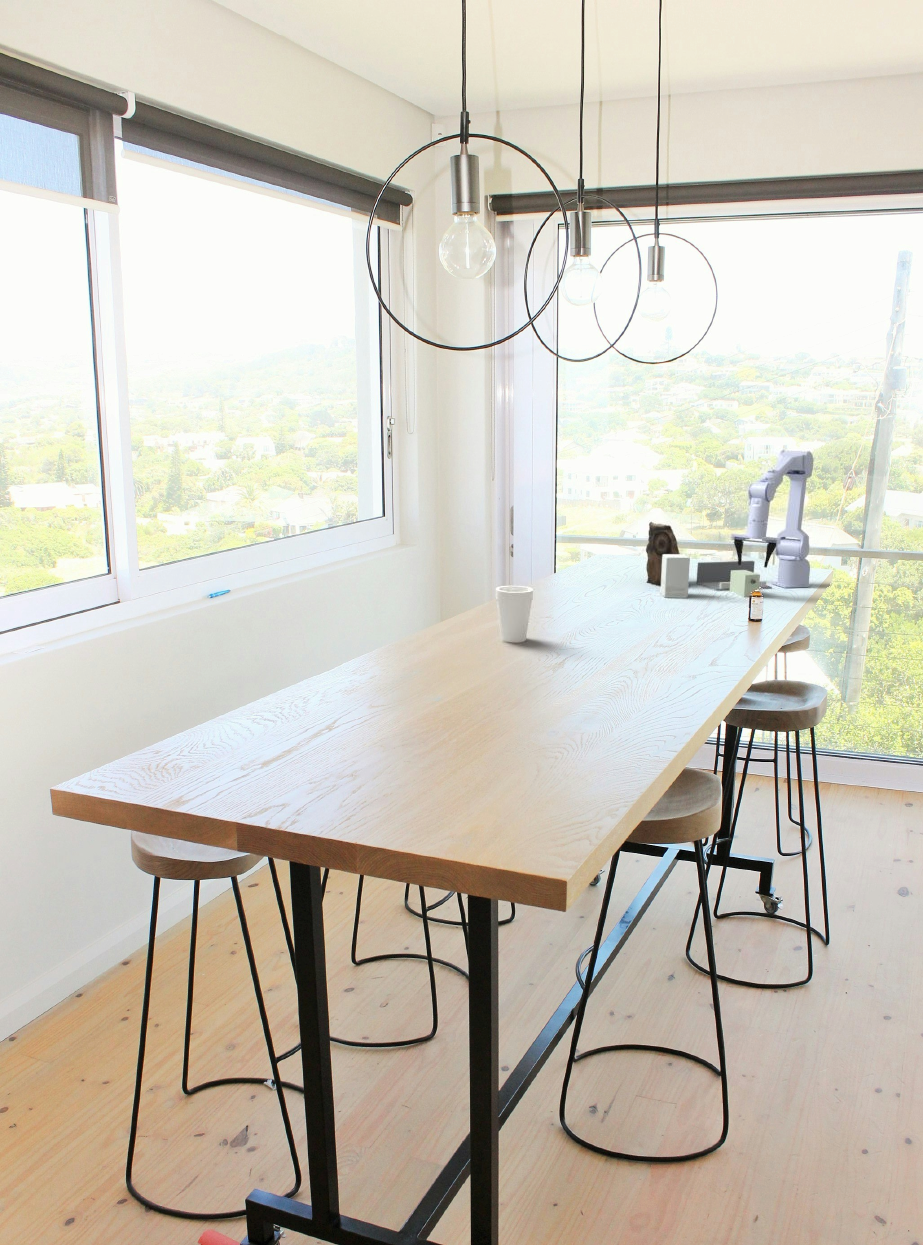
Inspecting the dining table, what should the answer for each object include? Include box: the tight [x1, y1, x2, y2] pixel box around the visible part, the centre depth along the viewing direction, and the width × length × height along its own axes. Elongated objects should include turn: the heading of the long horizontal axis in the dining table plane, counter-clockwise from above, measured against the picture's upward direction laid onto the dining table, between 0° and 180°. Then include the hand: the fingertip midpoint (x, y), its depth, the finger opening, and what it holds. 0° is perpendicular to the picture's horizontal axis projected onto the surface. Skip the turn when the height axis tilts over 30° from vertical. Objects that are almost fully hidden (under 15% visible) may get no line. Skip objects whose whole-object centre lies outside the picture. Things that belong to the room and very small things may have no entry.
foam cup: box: [495, 585, 534, 643], centre depth 257 cm, size 10×9×13 cm
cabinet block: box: [729, 570, 761, 598], centre depth 319 cm, size 5×10×7 cm, turn 14°
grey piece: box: [696, 560, 772, 591], centre depth 334 cm, size 20×13×7 cm, turn 104°
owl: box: [645, 521, 680, 587], centre depth 335 cm, size 13×13×20 cm
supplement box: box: [659, 553, 691, 599], centre depth 315 cm, size 7×7×13 cm
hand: (752, 566), depth 311 cm, fingers open, 7 cm apart
